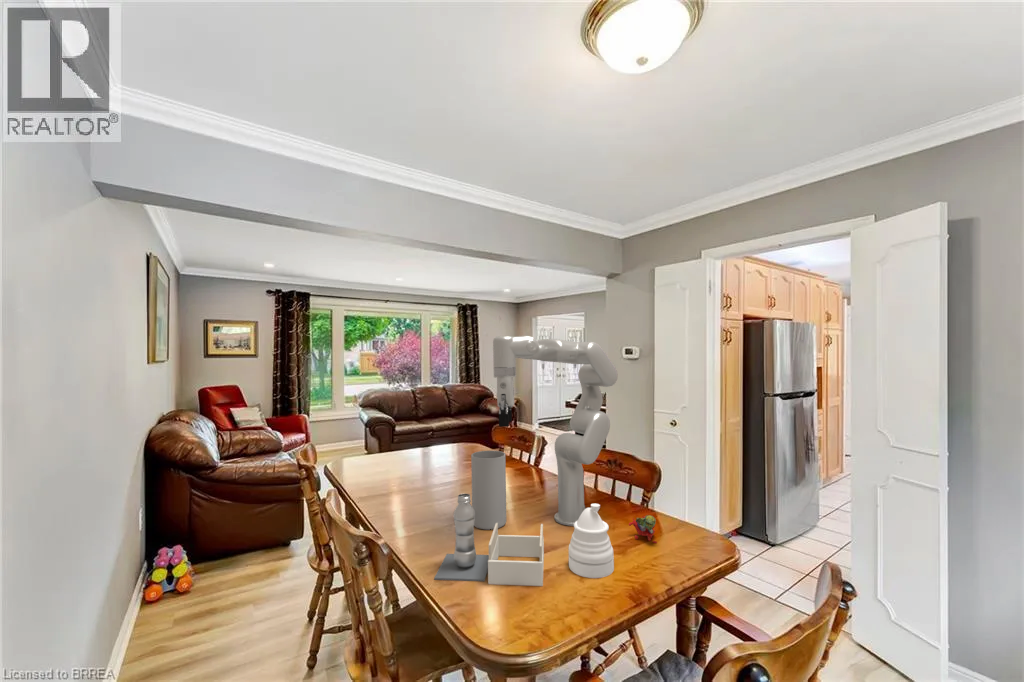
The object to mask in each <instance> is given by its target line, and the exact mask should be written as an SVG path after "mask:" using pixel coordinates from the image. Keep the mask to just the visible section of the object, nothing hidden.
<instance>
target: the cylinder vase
mask: <svg viewBox="0 0 1024 682" xmlns="http://www.w3.org/2000/svg"><path fill="white" fill-rule="evenodd" d="M470 459H471V461H470V462H471V464H470V465H471V468H470V469H471V506H472V507H473V509H474V511H475V521H474V528H477V529H480V530H487V531H488V530H490V529H491V530H494V527H495V524H496V523H498V529H500V528H502V527H504V526H505V525H506V524H507V475H506V474H507V472H506V471H507V469H506V468H507V467H506V462H507V461H506V453H505V452H504V451H500V450H482V451H475V452H473V453H471V456H470ZM491 530H490V531H491Z"/></svg>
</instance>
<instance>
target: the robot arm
mask: <svg viewBox="0 0 1024 682" xmlns="http://www.w3.org/2000/svg"><path fill="white" fill-rule="evenodd" d="M492 351H493V352H492V353H493V355H492V356H493V358H492V359H493V361H492V362H493V378H496V398H497V399H496V400H497V401H496V402H497V407H498V426H499V427H509V426H510V423H511V422H512V421H513V417H512V416H513V414H512V408H513V407H514V405H515V389H514V388H515V387H514V384H515V383H514V378H516V377H517V369H516V364H517V363H516V360H517V359H521V360H522V359H524V360H534V361H535V360H536V361H541V362H546V363H547V362H550V363H560V364H570V365H582V366H581V367H579V369H578V374H577V376H578V380H579V384H580V387H581V396H580V399H579V401H578V403H577V405H576V407H575V408H574V411H573V413H572V415H571V418H570V421H569V426H570V428H571V430H572V431H573V432H575V433H572V432H571V433H570V432H563V433H561V434H559V435H558V436H557V437H556V440H555V441H554V454H555V458H556V463H557V464H556V465H557V499H558V500H557V501H558V502H557V503H558V504H557V505H558V507H557V508H558V512H556V513H555V514H554V516H553V517H554V521H555V522H557V523H558V524H561V525H563V526H568V527H569V526H571V527H574V523H575V522H576V521H577V520H578V519H579V517H580V515H581V514H582V512H583V511H584V510H585V509H586V508H587V507H586V505H585V483H584V481H585V480H584V477H585V476H584V468H583V465H592V464H593V463H594V462H595V461H596V460H597V458H598V457H599V455H600V453H601V450H602V449H603V446H604V444H605V442H606V439H607V437H608V435H609V432H610V428H611V422H610V417H609V416H608V415H607V413H605V412H604V411H601V408H602V405H603V402H604V401H603V400H604V399H603V394H602V391H601V388H600V387H605V388H607V387H609V388H610V387H612V386H613V385H615V384H616V383H617V380H618V371H617V368H616V366H615V365H614V363H613V362H612V360H611V359H610V357H609V356H608V354H607V353H606V352H605V350H604V349H603V348H602V347H601V345H600V344H599V343H597V342H595V341H574V340H567V339H566V340H564V339H560V338H559V339H558V338H545V339H544V338H539V339H536V338H535V337H534V336H531V335H517V336H511V335H505V336H504V335H502V336H501V335H500V336H495V337H494V338H493V340H492ZM577 433H578V434H577ZM580 434H582V435H580Z"/></svg>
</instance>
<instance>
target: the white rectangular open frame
mask: <svg viewBox="0 0 1024 682" xmlns="http://www.w3.org/2000/svg"><path fill="white" fill-rule="evenodd" d="M492 530H493V531H492V533H491V536H490V540H489V542H488V555H489V560H488V572H487V581H488V583H487V584H488V585H499V586H500V585H504V586H526V587H527V586H533V587H543V586H544V561H545V559H544V558H545V549H544V548H545V544H544V542H545V541H544V538H545V537H544V524H543V523H540V533H539V534H540V535H520V534H519V535H516V534H515V535H513V534H499V531H498V530H499V528H498V523H496V524H495V527H494V529H492ZM499 557H517V558H518V557H519V558H522V557H524V558H525V557H527V558H539V561H534V560H533V561H531V560H504V559H503V560H499Z"/></svg>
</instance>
